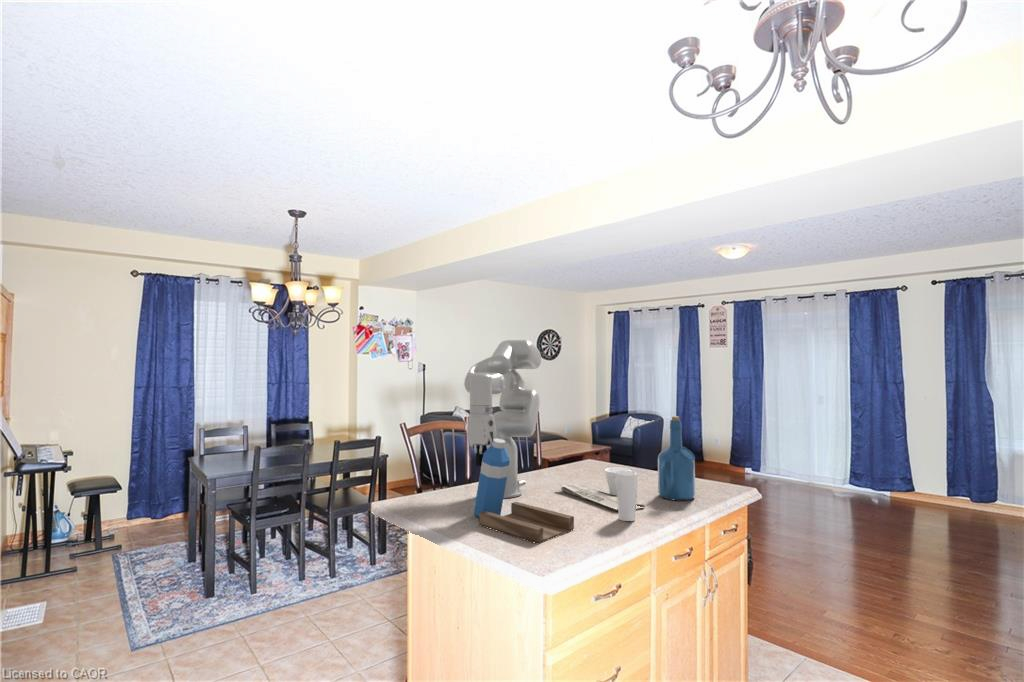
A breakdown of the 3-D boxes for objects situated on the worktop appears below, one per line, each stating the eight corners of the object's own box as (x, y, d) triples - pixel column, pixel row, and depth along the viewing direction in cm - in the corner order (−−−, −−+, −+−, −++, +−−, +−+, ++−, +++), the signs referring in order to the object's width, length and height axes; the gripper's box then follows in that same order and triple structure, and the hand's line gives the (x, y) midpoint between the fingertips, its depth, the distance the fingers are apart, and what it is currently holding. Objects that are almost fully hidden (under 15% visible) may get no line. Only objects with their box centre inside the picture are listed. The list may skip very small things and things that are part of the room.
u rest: (516, 513, 175) (516, 501, 175) (573, 529, 158) (573, 516, 159) (479, 525, 163) (479, 512, 163) (537, 544, 146) (537, 529, 146)
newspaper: (644, 509, 181) (644, 499, 181) (618, 515, 174) (618, 505, 174) (579, 488, 211) (579, 479, 211) (554, 493, 204) (554, 483, 204)
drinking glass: (629, 515, 173) (629, 469, 173) (642, 521, 166) (641, 474, 167) (612, 517, 170) (611, 471, 171) (623, 524, 164) (623, 475, 164)
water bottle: (494, 522, 167) (507, 447, 164) (468, 514, 170) (480, 440, 167) (504, 512, 176) (517, 440, 173) (479, 503, 179) (491, 433, 176)
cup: (603, 496, 196) (603, 472, 196) (606, 490, 206) (606, 466, 206) (630, 498, 193) (630, 473, 193) (632, 492, 203) (632, 468, 203)
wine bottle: (651, 496, 196) (650, 416, 197) (670, 490, 205) (669, 413, 206) (684, 504, 186) (683, 419, 187) (703, 497, 195) (701, 416, 196)
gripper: (504, 411, 173) (504, 466, 172) (474, 408, 184) (474, 461, 183) (487, 412, 168) (487, 470, 167) (458, 409, 178) (458, 464, 178)
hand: (480, 465), depth 175 cm, fingers closed
